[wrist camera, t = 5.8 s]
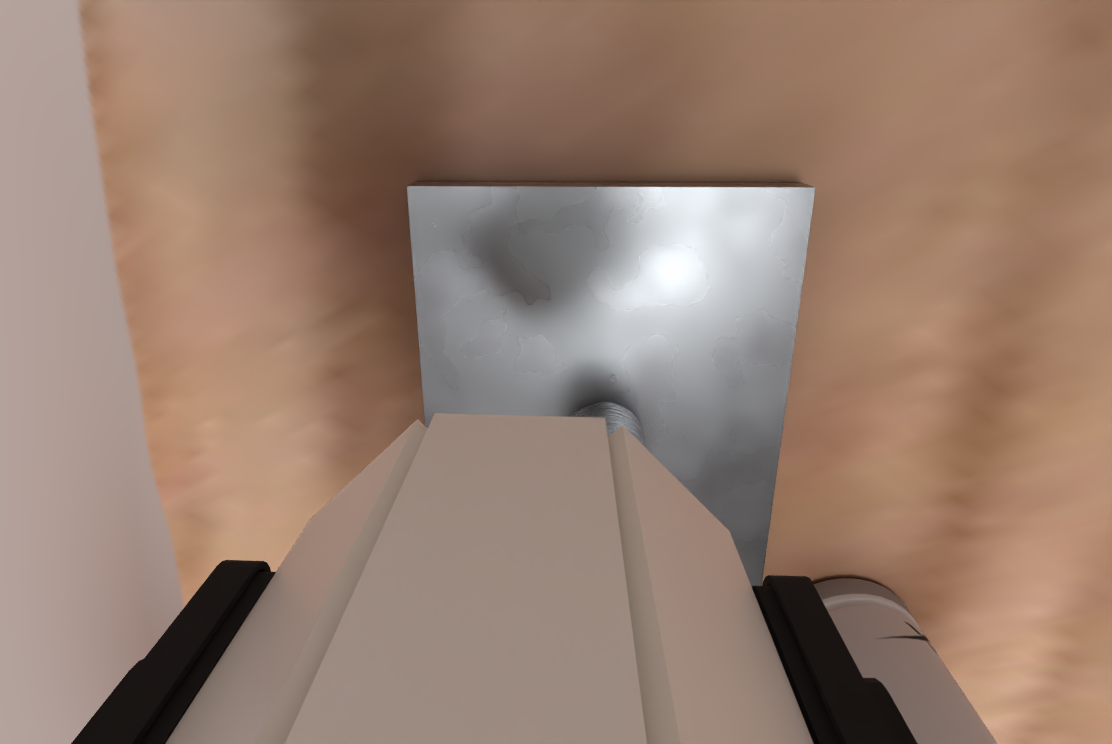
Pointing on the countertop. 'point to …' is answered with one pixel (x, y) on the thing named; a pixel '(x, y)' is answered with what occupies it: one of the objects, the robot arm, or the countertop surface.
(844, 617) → the travel mug
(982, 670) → the countertop surface
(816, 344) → the countertop surface
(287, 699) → the ring
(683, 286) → the post plate
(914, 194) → the countertop surface
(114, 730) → the robot arm
